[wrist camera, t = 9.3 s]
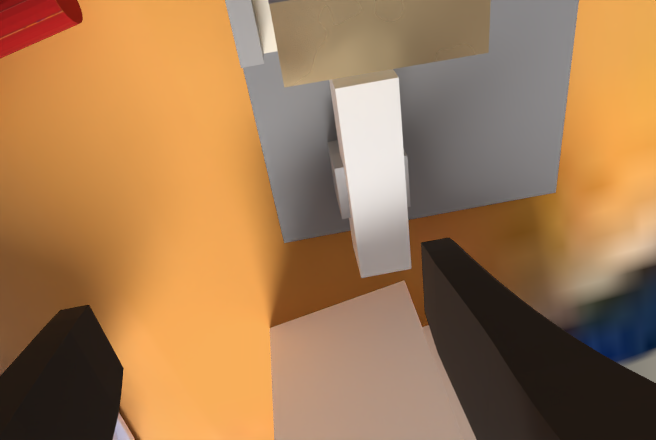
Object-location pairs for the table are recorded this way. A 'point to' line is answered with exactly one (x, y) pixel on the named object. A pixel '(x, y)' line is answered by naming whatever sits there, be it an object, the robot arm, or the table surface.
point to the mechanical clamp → (34, 21)
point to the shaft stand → (411, 130)
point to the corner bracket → (363, 374)
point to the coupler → (373, 35)
